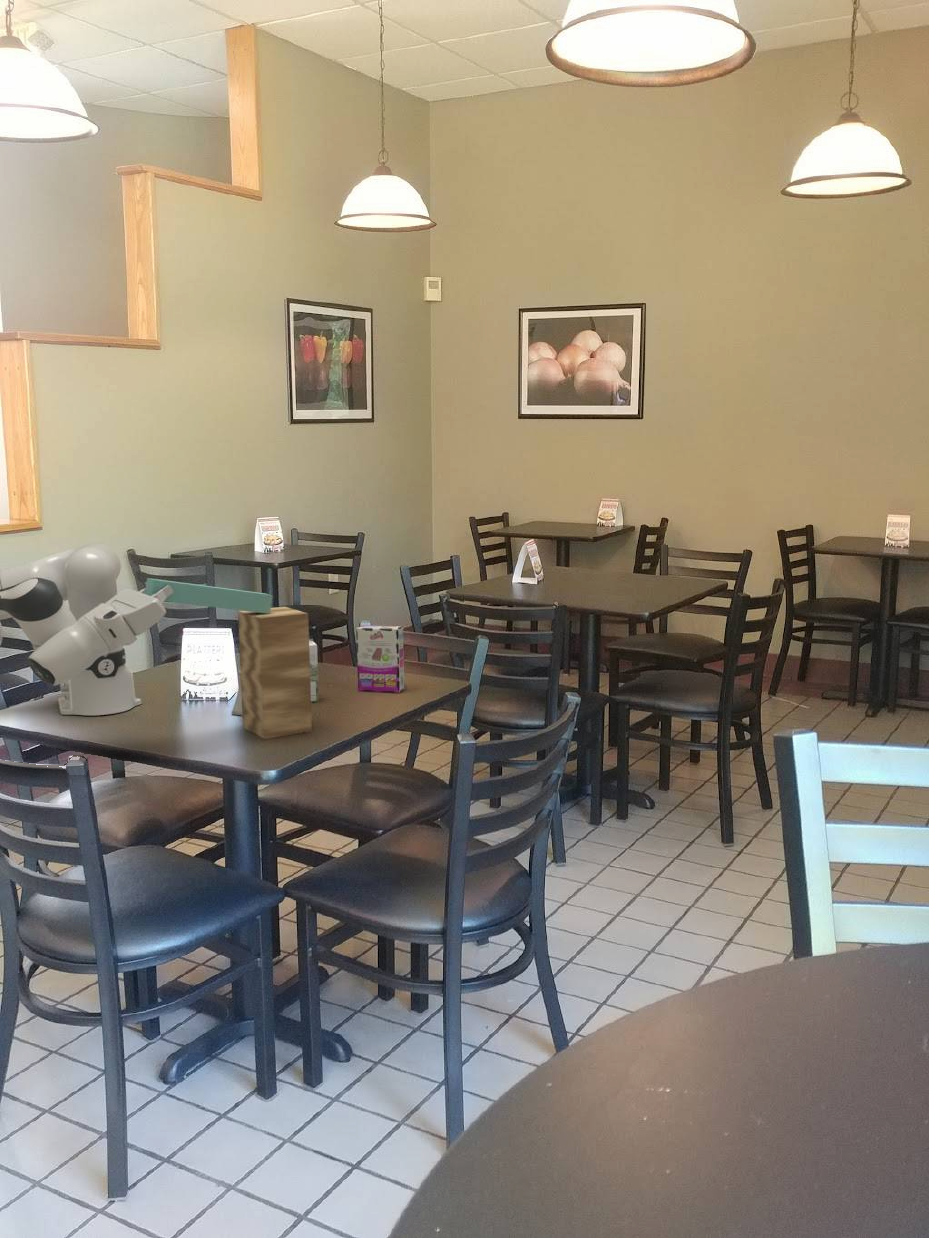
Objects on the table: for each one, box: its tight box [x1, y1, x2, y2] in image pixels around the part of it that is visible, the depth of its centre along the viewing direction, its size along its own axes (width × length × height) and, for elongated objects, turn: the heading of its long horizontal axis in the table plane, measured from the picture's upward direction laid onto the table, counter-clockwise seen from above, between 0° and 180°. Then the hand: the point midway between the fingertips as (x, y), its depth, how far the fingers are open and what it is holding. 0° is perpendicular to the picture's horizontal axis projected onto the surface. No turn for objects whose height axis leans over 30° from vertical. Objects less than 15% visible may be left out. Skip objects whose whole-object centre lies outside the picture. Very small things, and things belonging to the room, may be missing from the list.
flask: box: [231, 669, 242, 716], centre depth 254 cm, size 7×7×10 cm
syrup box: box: [309, 640, 319, 703], centre depth 265 cm, size 6×6×14 cm
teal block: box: [145, 577, 274, 614], centre depth 227 cm, size 4×26×4 cm, turn 124°
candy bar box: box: [355, 625, 406, 694], centre depth 275 cm, size 11×5×16 cm, turn 76°
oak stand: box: [237, 606, 313, 740], centre depth 238 cm, size 12×11×26 cm
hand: (166, 586), depth 222 cm, fingers closed on teal block, 4 cm apart
